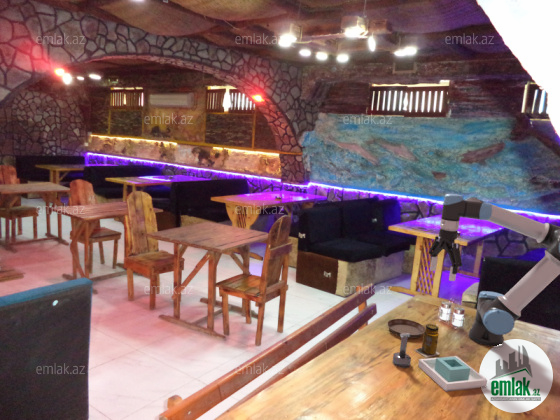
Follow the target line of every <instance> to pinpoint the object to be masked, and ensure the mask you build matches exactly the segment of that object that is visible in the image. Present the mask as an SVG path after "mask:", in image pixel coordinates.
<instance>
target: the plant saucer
mask: <svg viewBox="0 0 560 420" xmlns="http://www.w3.org/2000/svg"><path fill="white" fill-rule="evenodd" d="M386 325H387V327H388V329H389V331H390V332H392V333H393V334H394V335H395V336H398V337H400V334H401V333H409V334H410V337H408V339H416V338H419V337H421V336H423V335H424V331H425V328H426V326H424V325H422V324H421V323H419V322H417V321H414V320H411V319H405V318H393V319H390V320H388V321H387V323H386Z"/></svg>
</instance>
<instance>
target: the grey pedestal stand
mask: <svg viewBox="0 0 560 420" xmlns="http://www.w3.org/2000/svg"><path fill="white" fill-rule="evenodd" d="M399 337H400V338H401V340H400V348H399V352H394V353H393V356H392V364H393V365H394V366H396V367H398V368H402V369H407V368H410V366H411V361H412V357H411V356H410V355H409V354H407V346H408V339H409V338H408V337H410V334H409V333H401V334H400V336H399Z"/></svg>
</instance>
